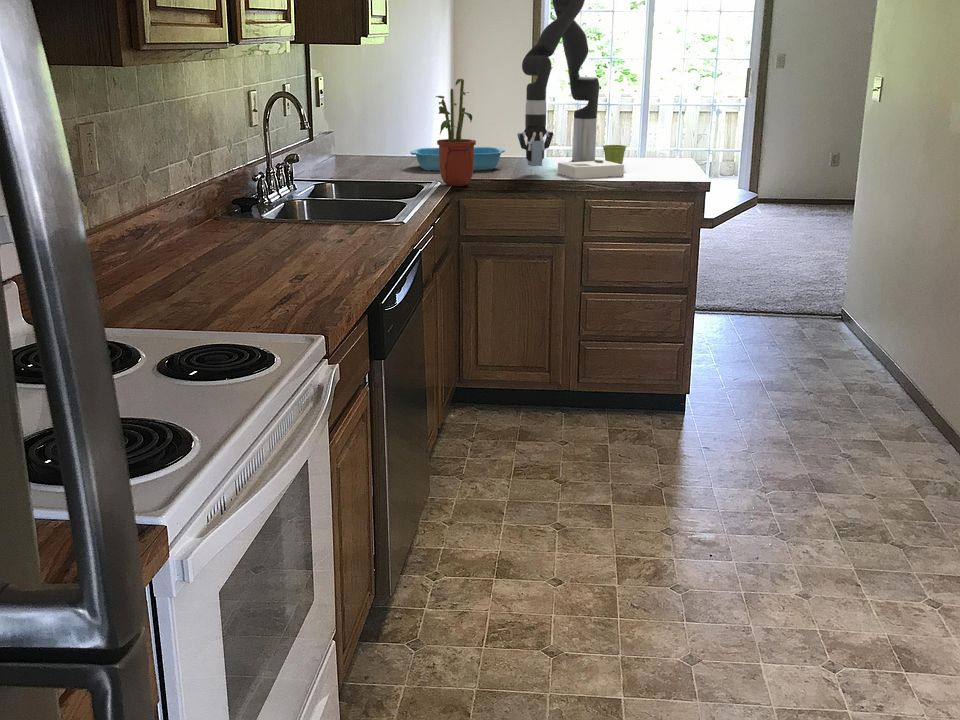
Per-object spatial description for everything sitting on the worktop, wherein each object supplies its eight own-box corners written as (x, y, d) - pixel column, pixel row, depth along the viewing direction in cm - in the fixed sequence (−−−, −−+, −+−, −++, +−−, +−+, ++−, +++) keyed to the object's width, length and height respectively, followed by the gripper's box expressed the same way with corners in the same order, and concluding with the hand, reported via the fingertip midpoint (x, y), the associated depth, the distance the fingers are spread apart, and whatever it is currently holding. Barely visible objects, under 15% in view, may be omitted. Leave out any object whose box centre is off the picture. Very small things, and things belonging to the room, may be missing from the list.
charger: (527, 164, 357) (528, 140, 354) (537, 164, 359) (538, 139, 356) (532, 166, 354) (532, 141, 351) (542, 165, 355) (542, 140, 352)
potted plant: (483, 184, 332) (483, 78, 321) (457, 189, 319) (457, 79, 308) (441, 180, 341) (440, 77, 330) (415, 185, 328) (413, 78, 317)
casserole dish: (412, 172, 362) (412, 153, 360) (408, 165, 383) (408, 147, 381) (509, 171, 367) (509, 152, 365) (500, 164, 388) (500, 146, 386)
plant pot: (597, 169, 372) (598, 146, 370) (606, 166, 380) (607, 144, 377) (620, 170, 368) (622, 147, 365) (629, 168, 376) (630, 145, 373)
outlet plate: (557, 173, 359) (558, 160, 358) (605, 171, 366) (605, 158, 365) (574, 178, 347) (575, 164, 346) (623, 175, 354) (624, 162, 353)
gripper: (549, 111, 356) (548, 158, 362) (513, 112, 351) (513, 160, 357) (558, 113, 349) (556, 161, 355) (522, 114, 344) (521, 162, 350)
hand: (534, 160), depth 356 cm, fingers closed on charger, 4 cm apart
